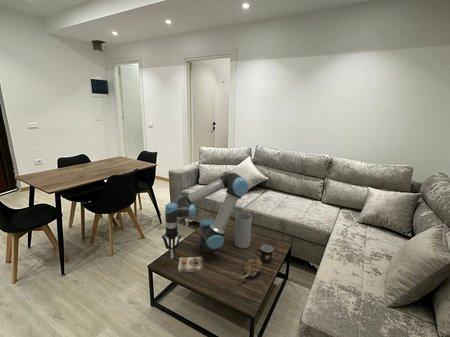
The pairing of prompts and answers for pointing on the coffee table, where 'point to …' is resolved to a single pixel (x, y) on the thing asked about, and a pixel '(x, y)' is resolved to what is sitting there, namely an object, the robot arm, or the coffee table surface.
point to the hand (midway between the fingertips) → (172, 257)
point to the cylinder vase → (243, 230)
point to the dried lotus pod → (252, 268)
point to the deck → (190, 264)
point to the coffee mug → (265, 253)
